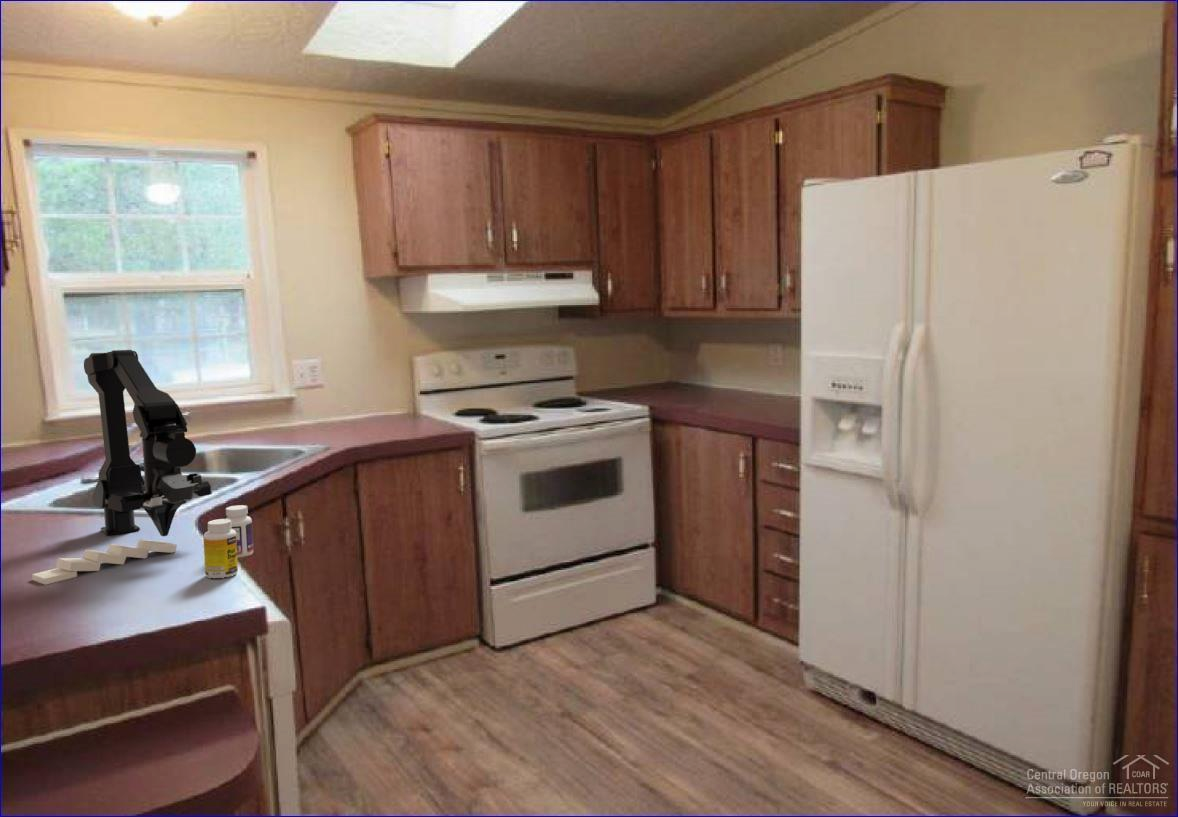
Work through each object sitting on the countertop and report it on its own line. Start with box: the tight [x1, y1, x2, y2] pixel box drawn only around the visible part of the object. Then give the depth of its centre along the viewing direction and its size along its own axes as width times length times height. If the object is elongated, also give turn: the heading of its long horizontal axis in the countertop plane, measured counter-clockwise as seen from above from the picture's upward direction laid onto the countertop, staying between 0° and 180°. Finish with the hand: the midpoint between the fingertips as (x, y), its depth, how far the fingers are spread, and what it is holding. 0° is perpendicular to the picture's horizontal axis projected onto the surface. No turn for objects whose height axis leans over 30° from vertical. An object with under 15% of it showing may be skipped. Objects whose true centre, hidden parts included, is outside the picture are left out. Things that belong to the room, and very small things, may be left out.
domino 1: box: [31, 567, 78, 586], centre depth 148 cm, size 2×5×5 cm
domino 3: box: [82, 549, 127, 565], centre depth 155 cm, size 2×5×5 cm
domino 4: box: [106, 543, 150, 559], centre depth 159 cm, size 2×5×5 cm
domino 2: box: [55, 557, 102, 572], centre depth 151 cm, size 2×5×5 cm
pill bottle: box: [225, 504, 254, 559], centre depth 162 cm, size 5×5×10 cm
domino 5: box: [136, 539, 178, 554], centre depth 163 cm, size 2×5×5 cm
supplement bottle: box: [203, 518, 239, 580], centre depth 150 cm, size 6×6×10 cm
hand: (164, 535), depth 165 cm, fingers closed
